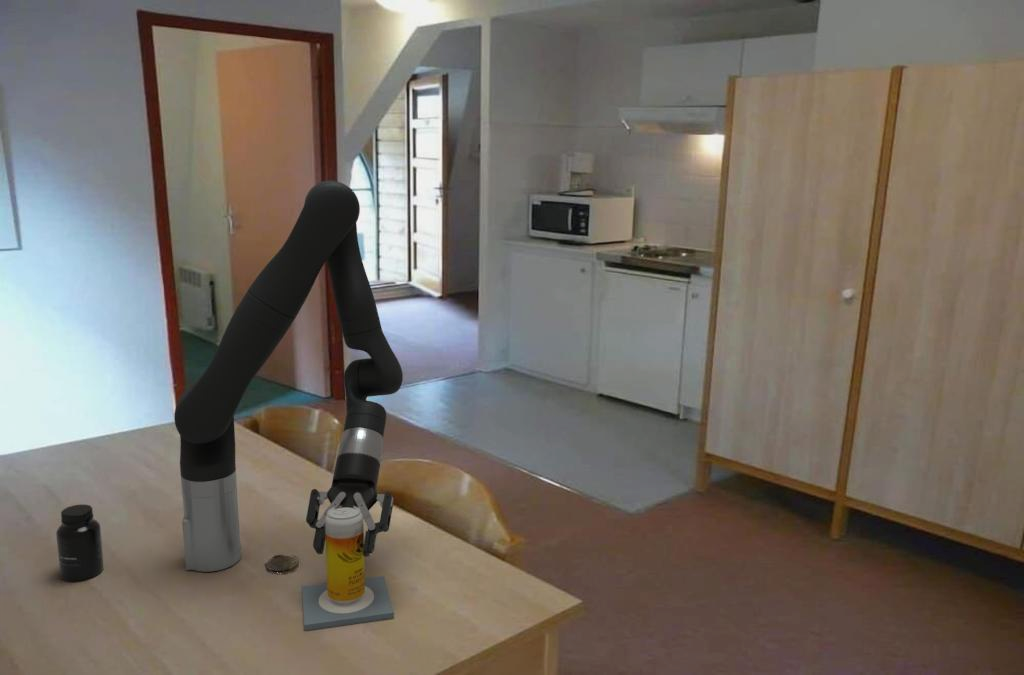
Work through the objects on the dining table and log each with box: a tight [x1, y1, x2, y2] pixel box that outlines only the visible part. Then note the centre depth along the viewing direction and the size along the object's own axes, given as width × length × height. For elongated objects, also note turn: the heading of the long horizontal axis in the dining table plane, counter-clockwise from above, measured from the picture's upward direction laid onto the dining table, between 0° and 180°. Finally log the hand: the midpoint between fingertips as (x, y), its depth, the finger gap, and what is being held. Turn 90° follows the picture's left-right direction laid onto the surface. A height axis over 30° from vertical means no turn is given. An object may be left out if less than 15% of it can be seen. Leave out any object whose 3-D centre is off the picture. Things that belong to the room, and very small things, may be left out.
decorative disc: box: [264, 554, 301, 575], centre depth 144 cm, size 6×6×1 cm
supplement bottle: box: [55, 504, 104, 582], centre depth 139 cm, size 7×7×12 cm
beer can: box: [325, 506, 366, 604], centre depth 131 cm, size 6×6×15 cm
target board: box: [301, 575, 395, 632], centre depth 132 cm, size 14×12×1 cm
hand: (342, 554), depth 129 cm, fingers open, 7 cm apart
